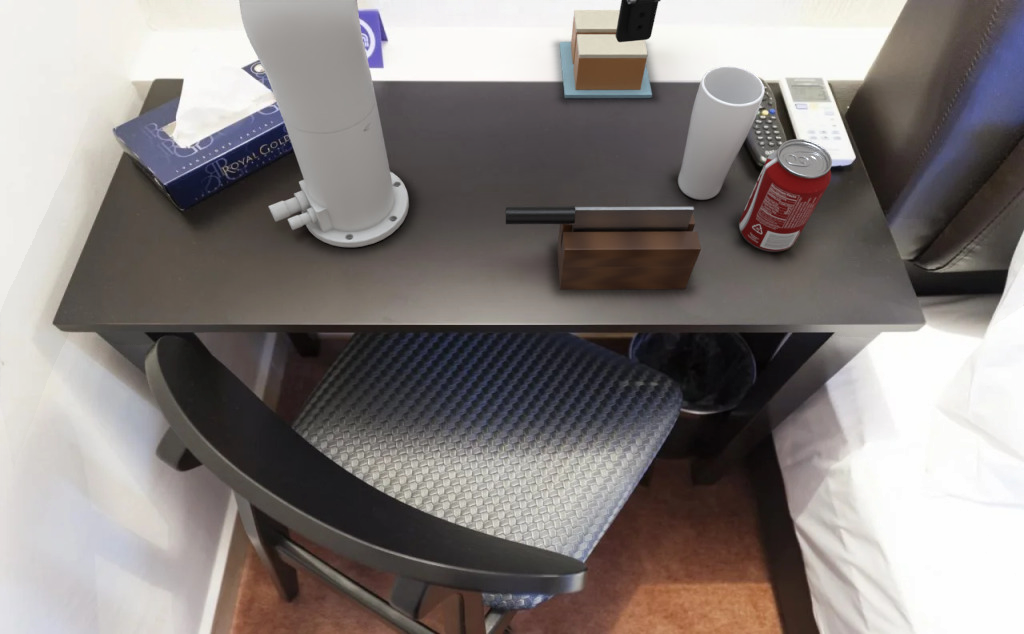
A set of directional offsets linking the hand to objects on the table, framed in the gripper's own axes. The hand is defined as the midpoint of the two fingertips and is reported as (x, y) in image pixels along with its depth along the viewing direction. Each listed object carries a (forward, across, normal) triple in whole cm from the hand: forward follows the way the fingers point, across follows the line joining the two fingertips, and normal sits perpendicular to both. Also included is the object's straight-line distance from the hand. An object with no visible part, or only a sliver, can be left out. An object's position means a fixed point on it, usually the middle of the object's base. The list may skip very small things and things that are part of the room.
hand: (617, 8), depth 63 cm
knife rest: (+23, +13, 0) cm, 27 cm away
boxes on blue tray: (+23, -21, +8) cm, 32 cm away
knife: (+19, +13, -3) cm, 23 cm away
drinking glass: (+23, +3, +13) cm, 27 cm away
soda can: (+23, +12, +19) cm, 32 cm away
